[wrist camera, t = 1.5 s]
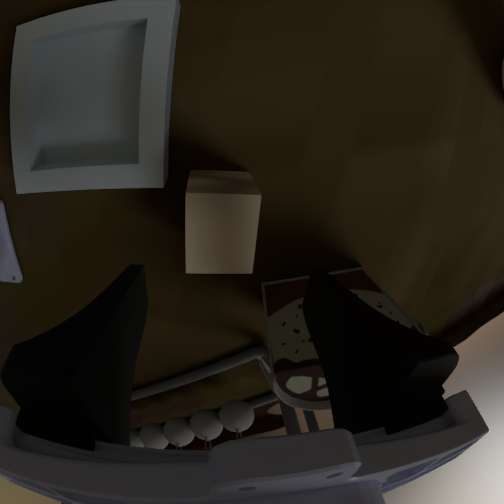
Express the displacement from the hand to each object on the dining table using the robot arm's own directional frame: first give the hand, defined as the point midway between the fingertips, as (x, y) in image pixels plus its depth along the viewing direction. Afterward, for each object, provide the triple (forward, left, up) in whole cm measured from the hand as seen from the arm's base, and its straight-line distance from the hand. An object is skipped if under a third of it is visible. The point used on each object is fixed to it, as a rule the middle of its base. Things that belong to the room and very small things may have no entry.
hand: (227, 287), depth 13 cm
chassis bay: (-9, +8, -10) cm, 15 cm away
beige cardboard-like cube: (0, 0, -10) cm, 10 cm away
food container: (+9, -9, -10) cm, 16 cm away
